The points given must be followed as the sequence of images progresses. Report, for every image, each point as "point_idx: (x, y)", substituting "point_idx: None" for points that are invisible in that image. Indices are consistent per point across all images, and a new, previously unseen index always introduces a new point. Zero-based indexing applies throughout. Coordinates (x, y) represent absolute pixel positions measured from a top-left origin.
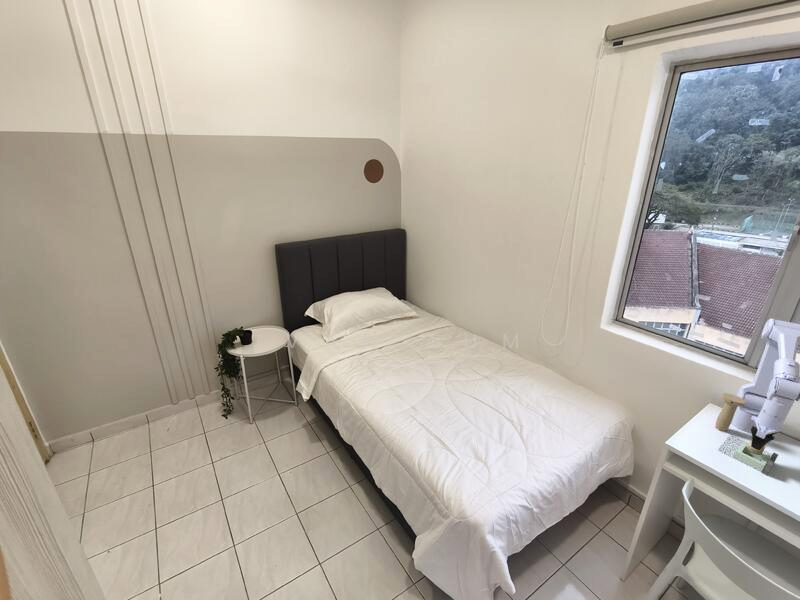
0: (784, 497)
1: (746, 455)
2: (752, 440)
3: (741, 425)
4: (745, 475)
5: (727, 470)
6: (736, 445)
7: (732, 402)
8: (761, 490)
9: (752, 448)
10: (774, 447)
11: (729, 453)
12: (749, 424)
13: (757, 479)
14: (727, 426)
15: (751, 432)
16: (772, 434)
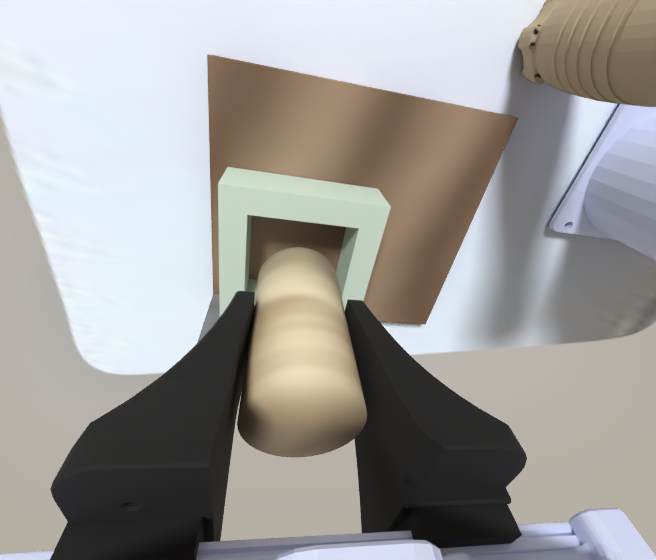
0: (146, 354)
1: (231, 242)
2: (207, 332)
3: (638, 173)
4: (136, 235)
5: (68, 151)
6: (391, 167)
7: None
8: (89, 298)
9: (257, 287)
10: (513, 301)
11: (249, 141)
12: (649, 222)
13: (165, 278)
14: (566, 81)
15: (118, 406)
16: (359, 472)
